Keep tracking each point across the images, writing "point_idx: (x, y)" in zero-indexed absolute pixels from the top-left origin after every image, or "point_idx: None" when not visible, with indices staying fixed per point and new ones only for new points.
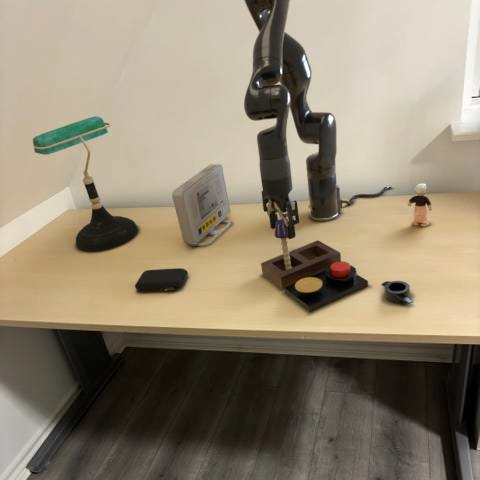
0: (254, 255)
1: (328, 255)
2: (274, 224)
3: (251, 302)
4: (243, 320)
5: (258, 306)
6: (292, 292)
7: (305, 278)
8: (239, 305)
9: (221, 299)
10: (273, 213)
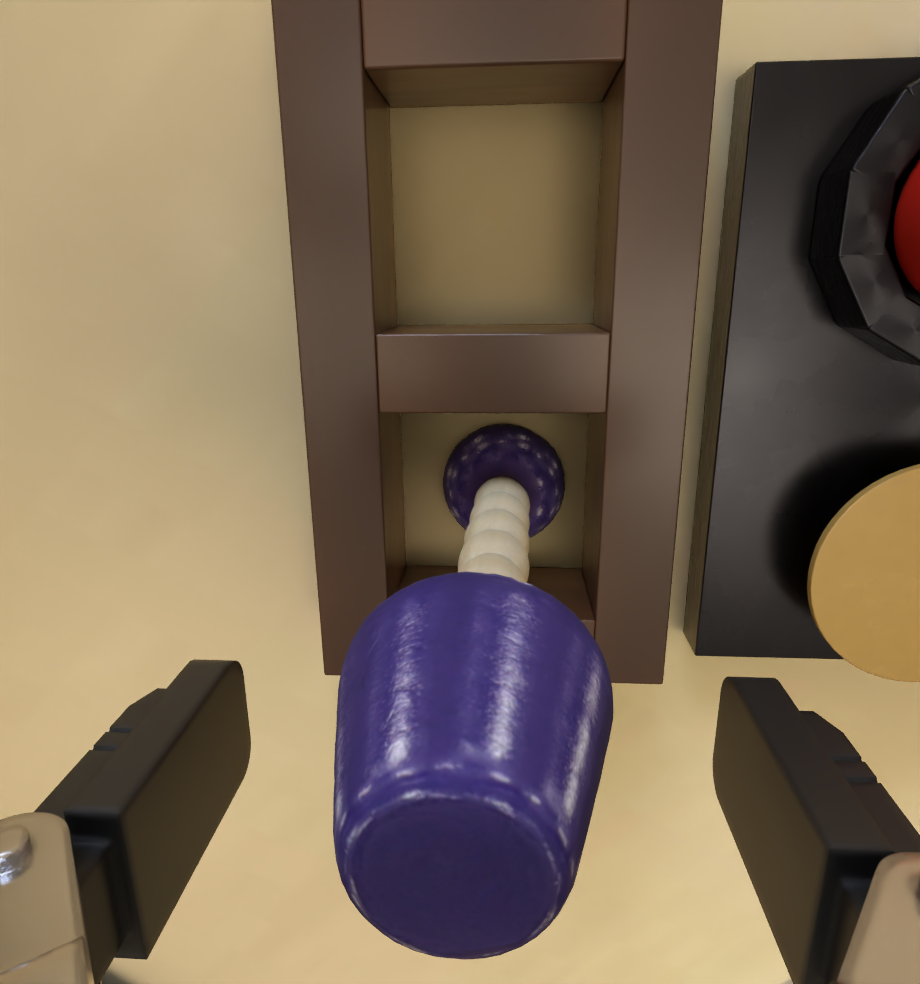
0: (16, 510)
1: (673, 112)
2: (217, 758)
3: (610, 826)
4: (743, 937)
5: (684, 819)
6: (800, 647)
7: (833, 543)
8: (584, 885)
9: None
10: (86, 923)
